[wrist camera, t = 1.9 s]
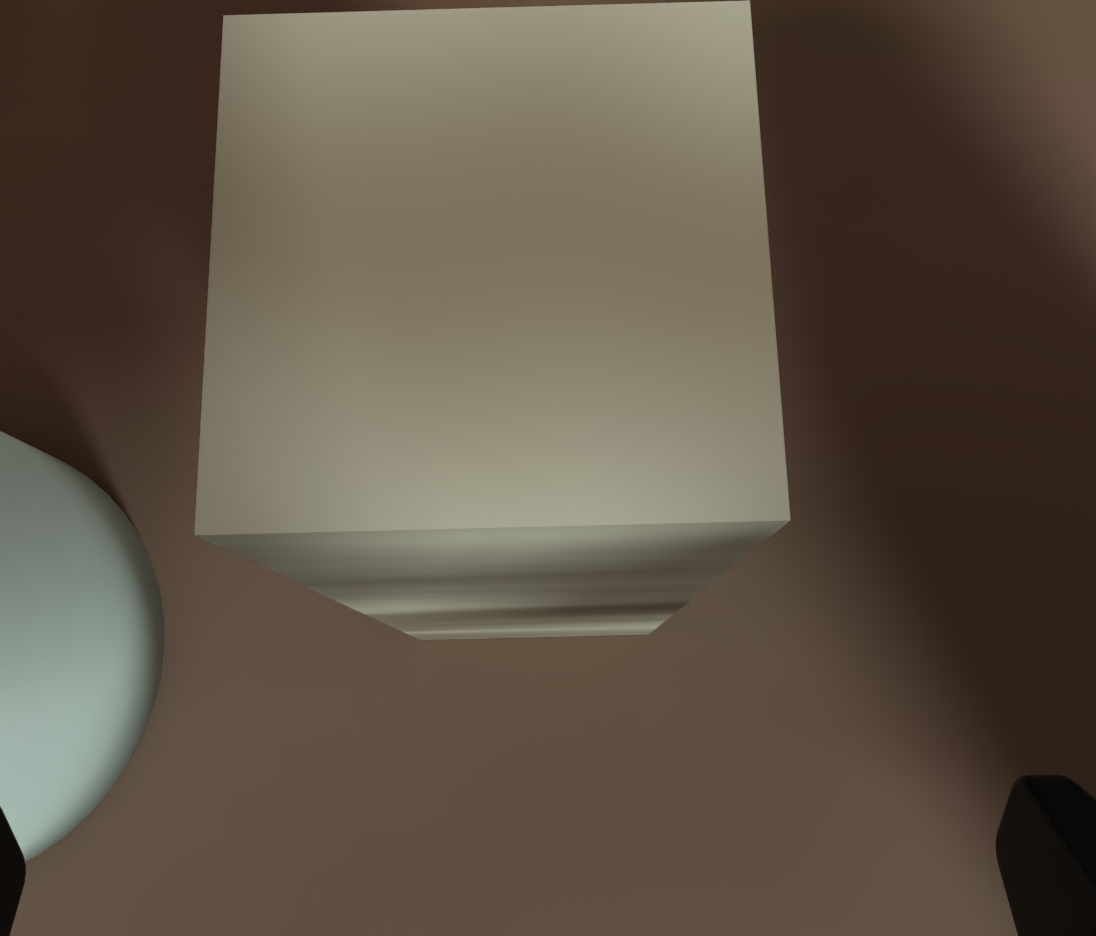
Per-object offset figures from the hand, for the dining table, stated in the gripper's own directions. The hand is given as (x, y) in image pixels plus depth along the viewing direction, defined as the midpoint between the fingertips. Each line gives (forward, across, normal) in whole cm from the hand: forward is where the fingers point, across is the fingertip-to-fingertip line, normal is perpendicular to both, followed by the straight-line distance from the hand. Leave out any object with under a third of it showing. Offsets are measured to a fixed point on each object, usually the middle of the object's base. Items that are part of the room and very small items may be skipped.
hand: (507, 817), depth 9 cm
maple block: (+11, 0, +5) cm, 12 cm away
